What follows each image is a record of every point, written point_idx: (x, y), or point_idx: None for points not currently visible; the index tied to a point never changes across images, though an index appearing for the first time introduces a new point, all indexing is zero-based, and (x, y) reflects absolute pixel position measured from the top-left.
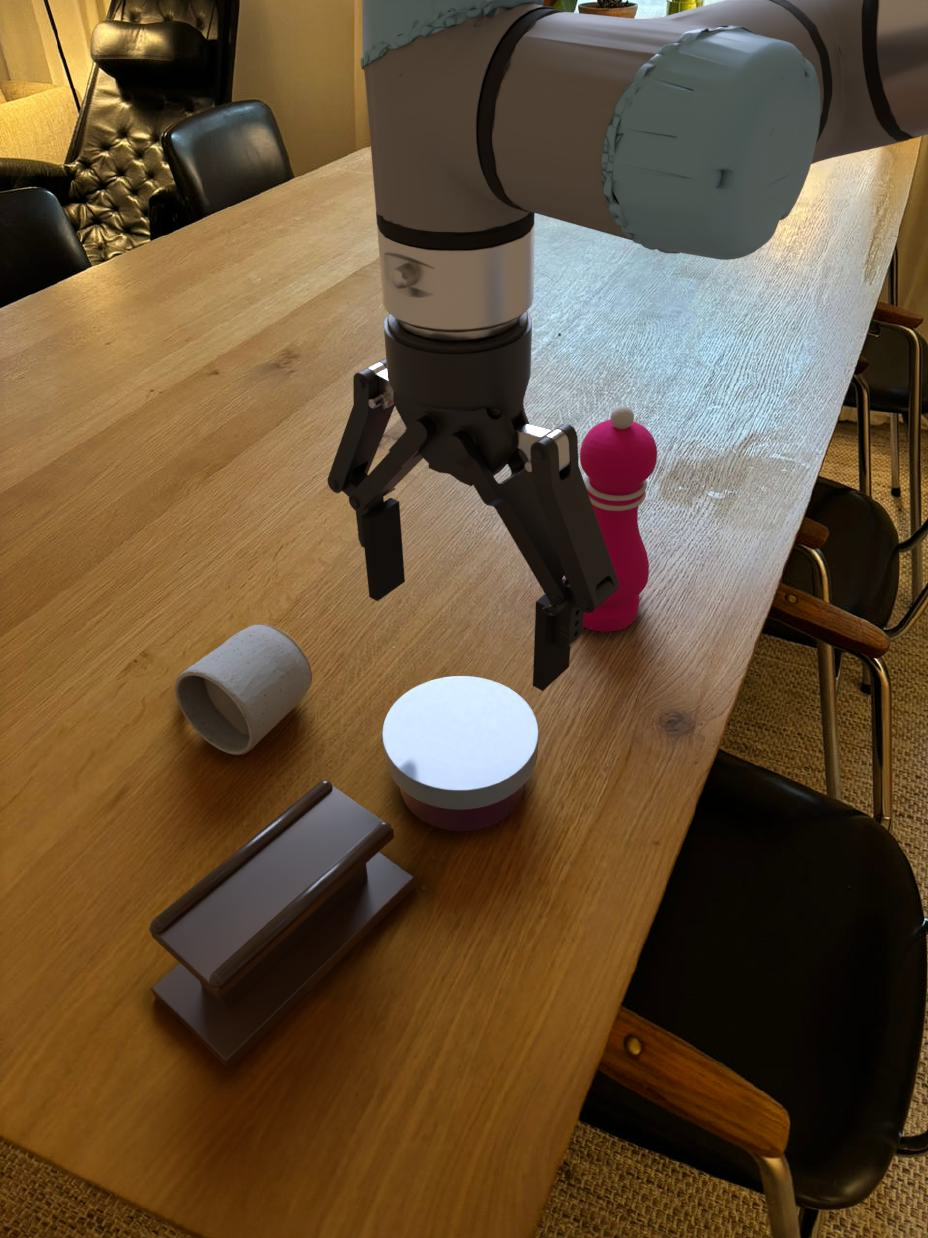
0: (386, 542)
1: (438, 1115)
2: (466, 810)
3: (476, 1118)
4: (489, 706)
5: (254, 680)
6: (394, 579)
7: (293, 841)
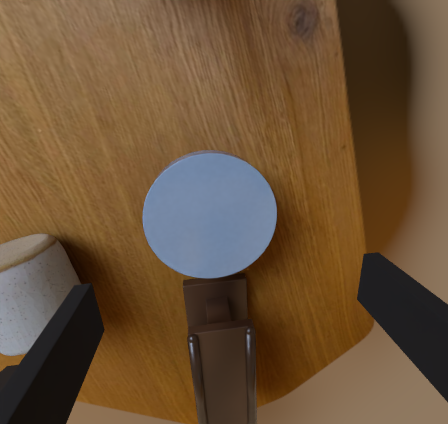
0: (55, 394)
1: (327, 328)
2: None
3: (341, 319)
4: (210, 184)
5: (47, 317)
6: (90, 313)
7: (213, 369)
